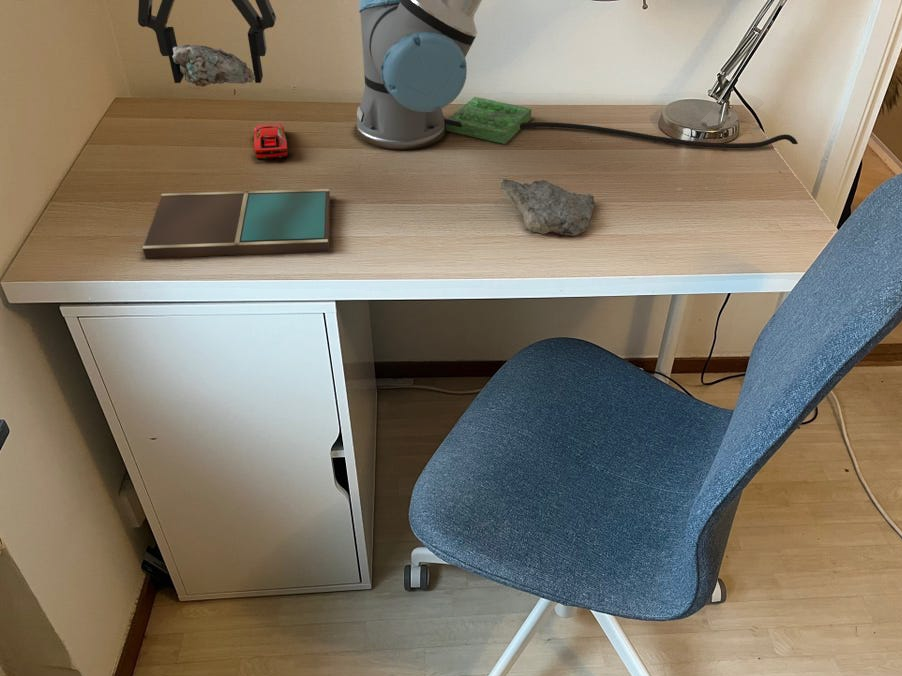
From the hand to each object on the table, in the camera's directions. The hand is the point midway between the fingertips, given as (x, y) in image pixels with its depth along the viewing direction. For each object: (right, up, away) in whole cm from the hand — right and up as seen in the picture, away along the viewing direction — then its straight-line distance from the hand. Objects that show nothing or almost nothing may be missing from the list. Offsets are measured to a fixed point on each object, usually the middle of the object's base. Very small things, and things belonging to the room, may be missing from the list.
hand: (219, 79), depth 108 cm
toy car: (+2, -3, +21) cm, 21 cm away
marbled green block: (+38, +4, +30) cm, 49 cm away
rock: (+47, -17, +7) cm, 50 cm away
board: (+3, -20, +1) cm, 21 cm away
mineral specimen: (0, 0, 0) cm, 0 cm away
